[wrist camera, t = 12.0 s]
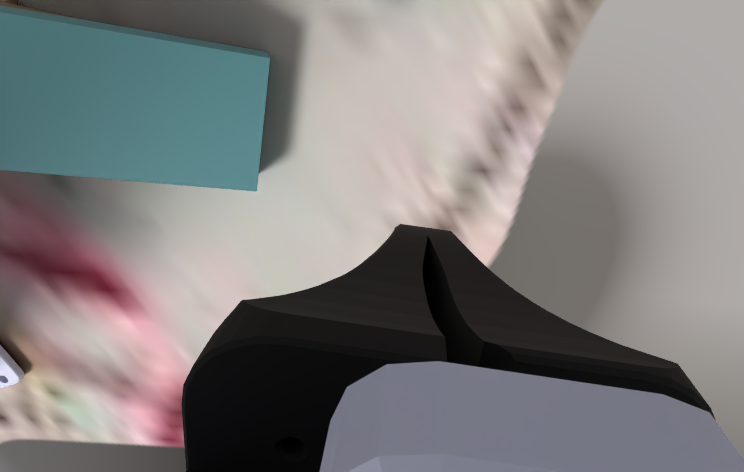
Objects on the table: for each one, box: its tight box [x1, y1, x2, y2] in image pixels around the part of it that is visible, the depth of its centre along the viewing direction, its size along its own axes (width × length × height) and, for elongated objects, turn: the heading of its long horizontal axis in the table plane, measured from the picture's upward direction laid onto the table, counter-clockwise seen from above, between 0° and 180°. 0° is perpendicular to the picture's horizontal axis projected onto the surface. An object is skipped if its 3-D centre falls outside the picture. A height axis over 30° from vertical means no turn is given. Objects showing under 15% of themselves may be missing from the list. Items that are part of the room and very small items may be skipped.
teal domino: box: [0, 5, 270, 191], centre depth 17 cm, size 2×5×9 cm
